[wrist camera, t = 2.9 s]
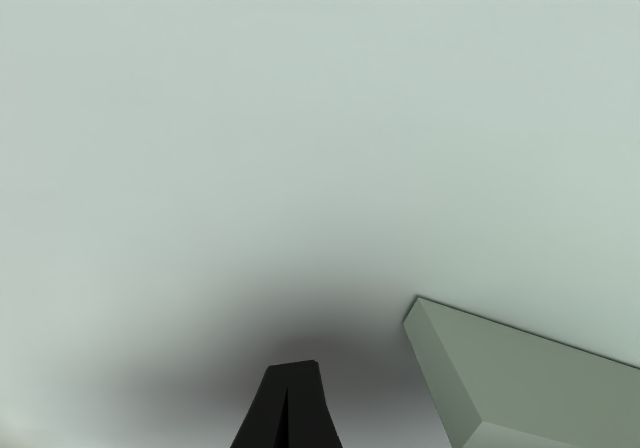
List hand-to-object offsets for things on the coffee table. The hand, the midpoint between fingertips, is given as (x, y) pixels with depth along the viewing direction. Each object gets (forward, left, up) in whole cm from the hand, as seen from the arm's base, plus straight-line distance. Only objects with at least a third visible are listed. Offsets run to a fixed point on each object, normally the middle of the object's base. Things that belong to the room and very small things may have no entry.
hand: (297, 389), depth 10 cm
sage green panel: (-3, -10, -1) cm, 11 cm away
